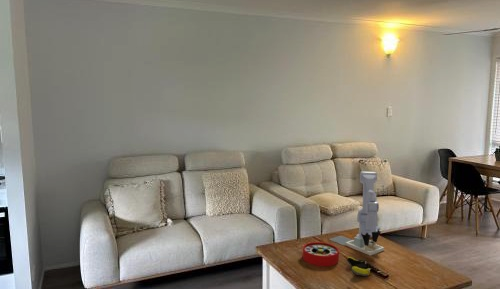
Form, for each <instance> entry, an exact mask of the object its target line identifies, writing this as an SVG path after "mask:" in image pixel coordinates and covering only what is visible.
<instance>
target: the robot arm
mask: <svg viewBox="0 0 500 289" xmlns="http://www.w3.org/2000/svg"><path fill="white" fill-rule="evenodd" d="M359 173H360V174H359V183H360V184H362V206H361V208H359V210H358V211H357V217H356V218H357V222H358V227H359V228H358V234H356V237H357V236H360V237H363V240H364V244H365V245H366V246H368V245H369V240H371V239H372V240H371V241H374V242H376V243H377V242H378V238H379V236H380V234H381V233H382V232H381V226H377V225H378V223H377V222H378V212H379V210H380V209H379V208H380V205H379V202H378V200H377V199H378V198H377V193H376V192H375V191H374V190H375V188H374V186H375V185H374V184H376V182H377V181H378V180H377V179H378V173H377V172H376V171H362V170H361V171H360V172H359Z"/></svg>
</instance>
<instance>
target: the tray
mask: <svg viewBox="0 0 500 289" xmlns="http://www.w3.org/2000/svg"><path fill="white" fill-rule="evenodd" d="M345 246H346V247H348V248H350V249H353V250H356V251H358V252H361V253H363V254H366V255H367V256H370V257H371V256H373V255H376V254H379V253H381V252H383V251H385V247H384V246H381V245H379V244H377V243H376V250H373V251H367V250H365V245H364V246H363V247H358V246H355V245H354V239H352V240H351V241H348V242H346V245H345Z"/></svg>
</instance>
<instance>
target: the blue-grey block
mask: <svg viewBox="0 0 500 289" xmlns="http://www.w3.org/2000/svg"><path fill="white" fill-rule="evenodd" d="M353 240H354V245H355V246H358V247H363V246H364V245H365V244H364V240H363V237H360V236H357V235H356V236H355V237H353Z"/></svg>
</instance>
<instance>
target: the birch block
mask: <svg viewBox="0 0 500 289" xmlns="http://www.w3.org/2000/svg"><path fill="white" fill-rule="evenodd" d="M376 244H377V242H374V241H372V240H371V239H369V245H368V246H366V245H365V250H367V251H373V250H376Z"/></svg>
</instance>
